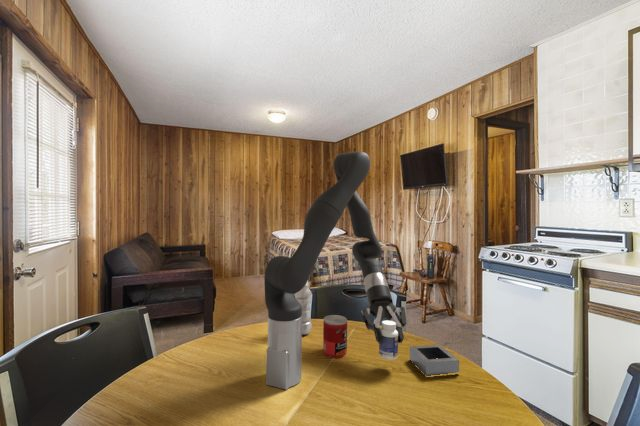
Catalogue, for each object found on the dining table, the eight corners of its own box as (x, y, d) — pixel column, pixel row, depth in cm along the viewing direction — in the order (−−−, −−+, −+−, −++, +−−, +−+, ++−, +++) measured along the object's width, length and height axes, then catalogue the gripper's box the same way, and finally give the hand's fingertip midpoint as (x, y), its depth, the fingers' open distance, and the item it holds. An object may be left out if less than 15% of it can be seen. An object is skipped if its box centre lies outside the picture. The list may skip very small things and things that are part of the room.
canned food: (338, 360, 91) (339, 325, 91) (318, 353, 96) (318, 319, 96) (351, 351, 98) (351, 318, 98) (331, 345, 102) (332, 313, 102)
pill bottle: (398, 361, 84) (399, 326, 84) (379, 359, 85) (379, 325, 85) (397, 352, 89) (397, 320, 89) (379, 350, 90) (379, 318, 90)
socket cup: (459, 376, 84) (459, 360, 84) (426, 378, 82) (426, 362, 82) (439, 358, 94) (439, 344, 94) (409, 361, 92) (409, 346, 92)
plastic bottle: (290, 334, 110) (291, 281, 111) (300, 328, 116) (300, 277, 117) (305, 338, 107) (306, 283, 108) (314, 332, 113) (315, 279, 114)
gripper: (358, 284, 93) (370, 338, 81) (401, 283, 95) (419, 335, 83) (353, 296, 98) (364, 348, 86) (394, 295, 101) (410, 346, 89)
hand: (391, 342), depth 85 cm, fingers closed on pill bottle, 5 cm apart
